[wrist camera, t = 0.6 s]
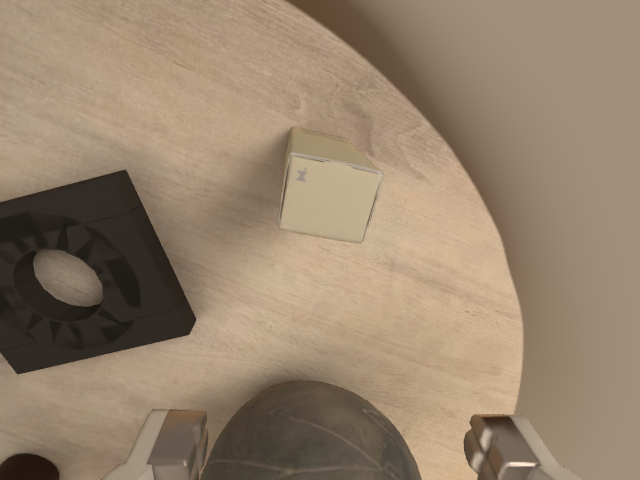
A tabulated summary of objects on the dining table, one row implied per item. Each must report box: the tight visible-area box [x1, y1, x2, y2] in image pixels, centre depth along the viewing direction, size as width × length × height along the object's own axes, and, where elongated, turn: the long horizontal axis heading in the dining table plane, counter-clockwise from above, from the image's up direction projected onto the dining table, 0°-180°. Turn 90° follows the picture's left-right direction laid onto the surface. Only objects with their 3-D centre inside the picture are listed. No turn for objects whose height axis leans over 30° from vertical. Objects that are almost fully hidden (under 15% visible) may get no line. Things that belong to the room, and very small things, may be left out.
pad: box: [0, 170, 196, 374], centre depth 32 cm, size 16×18×2 cm
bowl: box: [200, 381, 422, 480], centre depth 35 cm, size 21×21×15 cm
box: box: [278, 127, 384, 244], centre depth 24 cm, size 5×4×13 cm
